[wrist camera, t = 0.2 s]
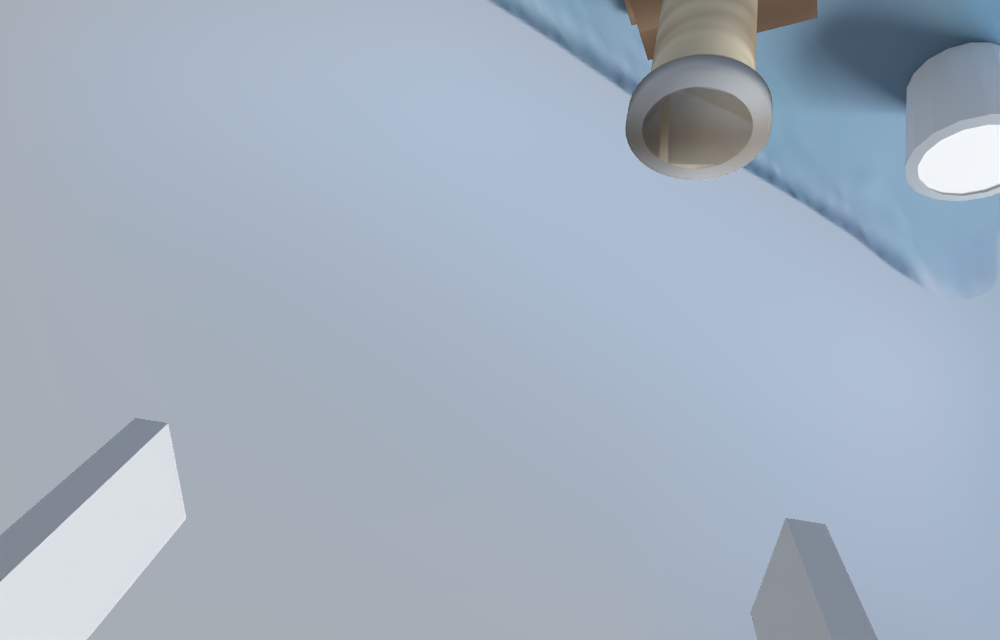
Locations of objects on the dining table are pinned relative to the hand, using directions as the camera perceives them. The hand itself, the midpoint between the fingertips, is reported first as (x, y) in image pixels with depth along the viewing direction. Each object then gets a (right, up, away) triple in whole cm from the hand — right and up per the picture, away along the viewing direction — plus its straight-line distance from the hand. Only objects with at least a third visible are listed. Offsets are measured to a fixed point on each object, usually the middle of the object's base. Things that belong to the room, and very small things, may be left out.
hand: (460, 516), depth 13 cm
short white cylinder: (+30, +19, +26) cm, 44 cm away
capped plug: (+13, +26, +20) cm, 35 cm away
